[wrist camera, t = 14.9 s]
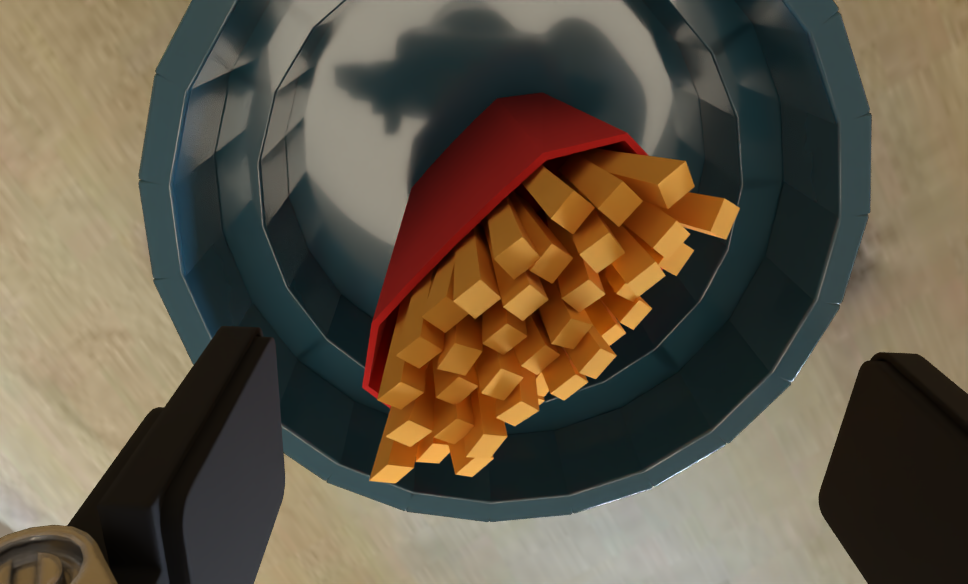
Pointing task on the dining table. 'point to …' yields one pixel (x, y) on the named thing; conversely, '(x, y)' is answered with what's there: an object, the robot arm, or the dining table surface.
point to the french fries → (520, 275)
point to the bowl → (418, 144)
